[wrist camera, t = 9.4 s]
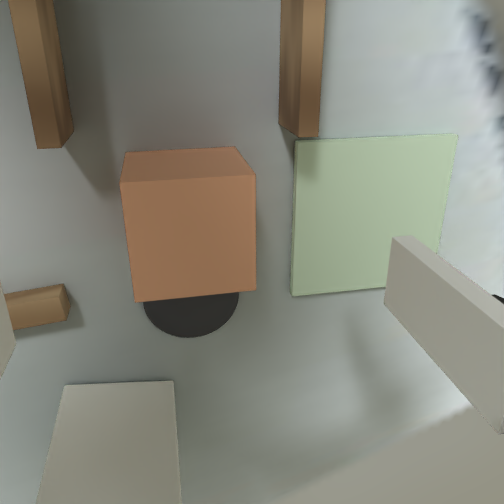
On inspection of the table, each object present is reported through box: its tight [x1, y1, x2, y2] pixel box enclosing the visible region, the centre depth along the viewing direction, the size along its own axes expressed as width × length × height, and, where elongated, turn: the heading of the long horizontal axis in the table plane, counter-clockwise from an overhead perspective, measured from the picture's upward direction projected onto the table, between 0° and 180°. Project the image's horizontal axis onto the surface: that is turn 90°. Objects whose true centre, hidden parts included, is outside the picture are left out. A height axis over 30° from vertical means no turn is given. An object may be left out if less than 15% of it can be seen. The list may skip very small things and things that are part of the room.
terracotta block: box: [119, 147, 256, 303], centre depth 25 cm, size 6×6×6 cm
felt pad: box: [290, 134, 458, 296], centre depth 30 cm, size 10×10×1 cm
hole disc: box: [143, 292, 239, 338], centre depth 30 cm, size 6×6×1 cm
